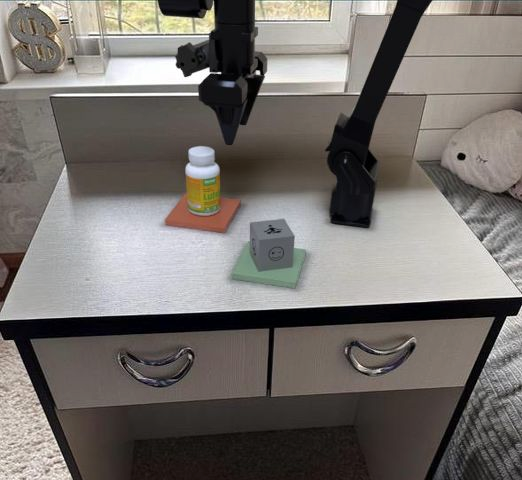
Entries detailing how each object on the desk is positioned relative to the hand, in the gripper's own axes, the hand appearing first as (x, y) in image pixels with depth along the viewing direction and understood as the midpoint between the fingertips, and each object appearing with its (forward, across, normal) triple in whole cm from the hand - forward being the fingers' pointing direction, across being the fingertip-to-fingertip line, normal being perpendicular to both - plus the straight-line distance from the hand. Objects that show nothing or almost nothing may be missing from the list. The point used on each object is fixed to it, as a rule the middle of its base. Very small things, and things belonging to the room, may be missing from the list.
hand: (236, 134), depth 84 cm
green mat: (+12, +19, +10) cm, 24 cm away
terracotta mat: (+12, +6, -4) cm, 14 cm away
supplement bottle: (+11, +6, -4) cm, 13 cm away
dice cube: (+11, +19, +10) cm, 24 cm away
